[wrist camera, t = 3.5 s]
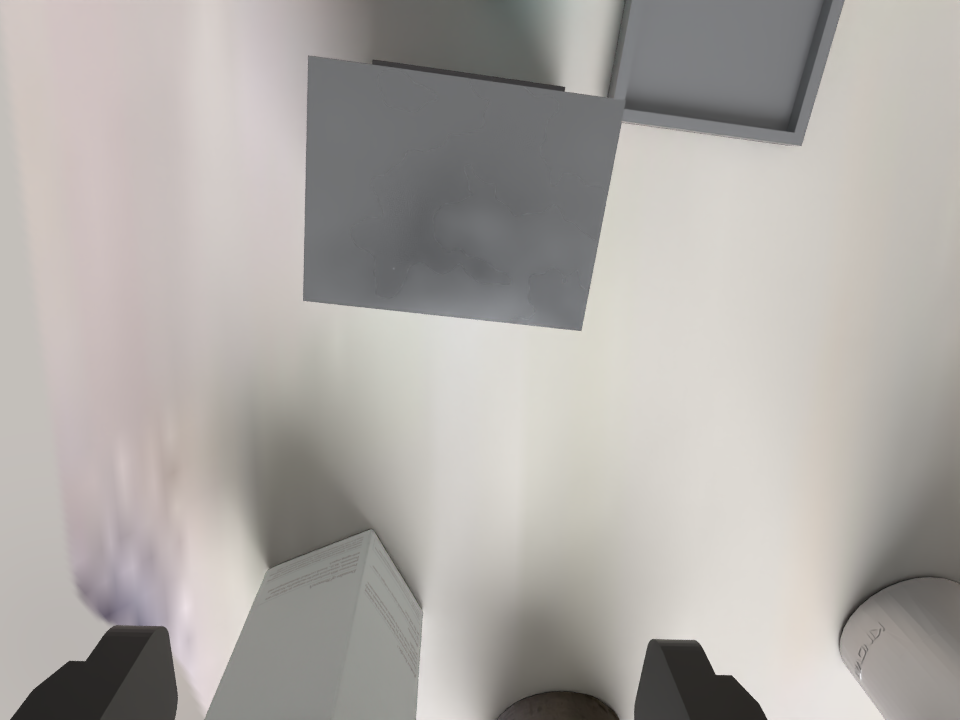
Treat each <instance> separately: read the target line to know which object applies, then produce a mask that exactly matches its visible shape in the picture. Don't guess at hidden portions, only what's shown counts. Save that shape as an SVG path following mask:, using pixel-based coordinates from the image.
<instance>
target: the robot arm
mask: <svg viewBox="0 0 960 720" xmlns="http://www.w3.org/2000/svg"><path fill="white" fill-rule="evenodd" d="M840 653H841V656H842V660H843V662H844V663H845V665H846V666H847V668H848V670H849V671H850V672H851V674H852V675H853V676H854V678H855V679H856V680H857V682H858V683H859V684H860V686H861V687H862V689H863V690H864V691H865V693H866V694H867V695H868V697H869V698H870V699H871V701H872V702H873V703H874V705H875V706H876V707H877V709H878V710H879V712H880V713H881V714H882V716H883V717H884V719H885V720H960V584H958V583H957V582H954V581H951V580H947V579H944V578H934V577H925V578H914V579H910V580H907V581H903V582H899V583H896V584H894V585H892V586H889V587H887V588H885V589H883V590H881V591H880V592H878V593H876V594H875V595H873V596H871V597H870V598H869V599H868V600H866V601H865V602H864V603H863V604H862V605H860V606H859V607H858V609H857V610H856V611H855V612H854V613H853V614H852V616H851V617H850V618H849V620H848V622H847V624H846V625H845V627H844V629H843V632H842V636H841V639H840ZM177 696H178V695H177V686H176V680H175V673H174V666H173V659H172V652H171V645H170V639H169V633H168V631H167V629H166V628H165V627H164V626H123V625H116V626H113V627H112V628H110V629H109V630H108V631H107V632H106V633H105V635H104V636H103V637H102V639H101V640H100V641H99V643H98V644H97V646H96V647H95V649H94V650H93V651H92V653H91V654H90V656H89V657H88V658H87V660H86V661H69V662H67V663H66V664H65V665H64V666H62V667H61V668H60V669H59V670H57V671H56V672H55V673H54V674H52V675H51V676H50V677H49V678H47V679H46V680H45V681H44V682H42V683H41V684H40V685H39V686H37V687H36V688H35V689H34V690H33V691H32V692H31V693H30V694H29V696H28V697H27V698H26V700H25V701H24V702H23V704H22V705H21V706H20V708H19V709H18V710H17V712H16V713H15V714H14V715H13V717H12V718H11V719H10V720H175V715H176V710H177V701H178V697H177ZM634 720H767V718H766V716H765V714H764V712H763V710H762V708H761V707H760V705H759V703H758V702H757V701H756V700H755V699H754V698H753V697H752V696H751V695H750V694H749V693H748V692H747V691H746V690H745V689H744V688H743V687H742V686H741V685H740V684H739V682H738V681H737V680H736V679H735V678H734V677H733V676H732V675H715V672H714V670H713V668H712V666H711V664H710V662H709V660H708V658H707V656H706V654H705V652H704V650H703V648H702V646H701V645H700V644H699V643H698V642H697V641H695V640H665V639H652V640H650V642H649V644H648V647H647V651H646V655H645V660H644V664H643V669H642V673H641V678H640V682H639V687H638V691H637V696H636V701H635V708H634Z"/></svg>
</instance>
